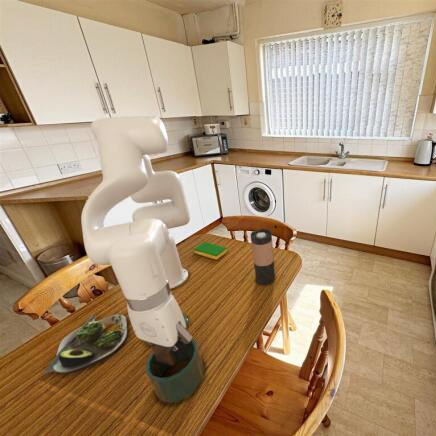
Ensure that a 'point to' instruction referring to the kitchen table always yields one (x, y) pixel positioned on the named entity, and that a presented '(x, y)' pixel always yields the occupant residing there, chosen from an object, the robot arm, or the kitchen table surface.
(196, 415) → the kitchen table surface
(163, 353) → the block
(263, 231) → the travel mug
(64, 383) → the kitchen table surface
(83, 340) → the salad plate
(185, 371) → the pot
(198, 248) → the dish sponge
